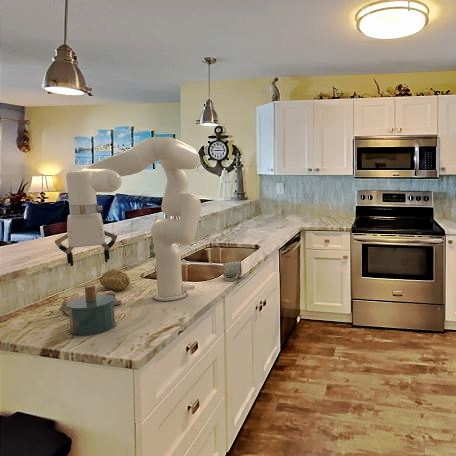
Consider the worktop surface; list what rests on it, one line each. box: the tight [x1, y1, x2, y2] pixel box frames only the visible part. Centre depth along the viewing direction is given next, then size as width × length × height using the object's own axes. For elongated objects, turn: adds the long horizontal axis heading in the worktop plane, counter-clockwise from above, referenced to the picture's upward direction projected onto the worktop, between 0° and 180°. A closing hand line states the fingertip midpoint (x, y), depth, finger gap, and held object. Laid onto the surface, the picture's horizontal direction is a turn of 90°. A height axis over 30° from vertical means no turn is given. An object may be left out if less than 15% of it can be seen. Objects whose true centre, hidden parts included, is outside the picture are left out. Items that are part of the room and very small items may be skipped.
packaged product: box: [60, 290, 122, 316], centre depth 154 cm, size 18×5×10 cm
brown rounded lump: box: [99, 269, 131, 290], centre depth 179 cm, size 13×8×20 cm
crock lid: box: [67, 284, 116, 310], centre depth 132 cm, size 14×14×6 cm
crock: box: [68, 303, 116, 336], centre depth 134 cm, size 13×13×8 cm
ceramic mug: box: [222, 261, 243, 282], centre depth 193 cm, size 11×8×8 cm
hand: (89, 263), depth 132 cm, fingers open, 9 cm apart
